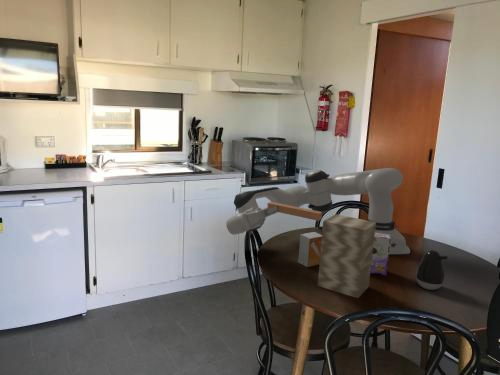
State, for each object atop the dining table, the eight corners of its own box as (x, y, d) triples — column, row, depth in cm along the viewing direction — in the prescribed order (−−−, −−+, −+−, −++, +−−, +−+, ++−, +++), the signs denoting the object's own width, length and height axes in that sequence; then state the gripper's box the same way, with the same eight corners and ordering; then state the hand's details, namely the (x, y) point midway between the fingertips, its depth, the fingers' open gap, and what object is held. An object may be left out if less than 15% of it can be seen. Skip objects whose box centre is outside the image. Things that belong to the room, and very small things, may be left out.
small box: (307, 267, 179) (309, 238, 176) (297, 262, 184) (299, 234, 181) (321, 264, 183) (324, 235, 181) (311, 259, 189) (314, 231, 186)
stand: (317, 285, 162) (323, 221, 157) (330, 275, 172) (335, 214, 166) (358, 298, 154) (365, 230, 148) (368, 286, 164) (376, 222, 158)
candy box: (386, 270, 180) (391, 234, 176) (386, 276, 174) (391, 238, 171) (353, 265, 184) (357, 229, 180) (352, 270, 178) (356, 233, 175)
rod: (267, 209, 182) (267, 203, 181) (270, 208, 184) (271, 201, 183) (318, 220, 169) (319, 213, 168) (321, 219, 171) (322, 212, 171)
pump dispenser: (437, 295, 159) (443, 257, 155) (410, 286, 165) (415, 249, 162) (447, 287, 166) (452, 251, 163) (420, 279, 173) (425, 243, 169)
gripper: (270, 218, 196) (294, 208, 188) (245, 229, 179) (270, 219, 171) (265, 205, 196) (288, 195, 188) (239, 215, 179) (264, 204, 172)
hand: (279, 206), depth 180 cm, fingers closed on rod, 3 cm apart
